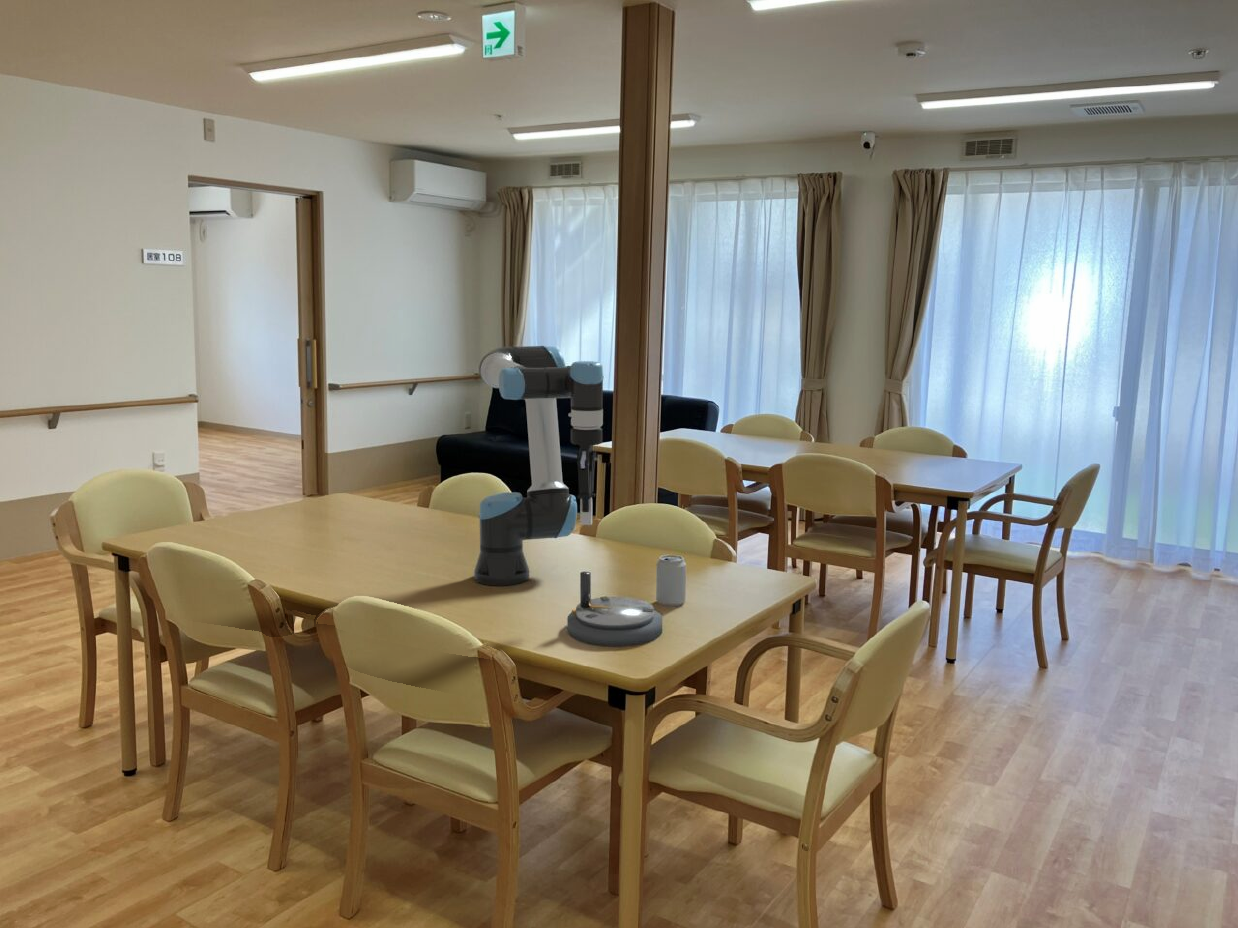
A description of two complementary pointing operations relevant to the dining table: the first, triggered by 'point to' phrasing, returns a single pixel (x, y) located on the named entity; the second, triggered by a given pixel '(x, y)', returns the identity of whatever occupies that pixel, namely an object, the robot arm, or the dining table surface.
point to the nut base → (614, 633)
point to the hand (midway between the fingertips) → (586, 523)
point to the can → (671, 580)
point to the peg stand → (611, 609)
